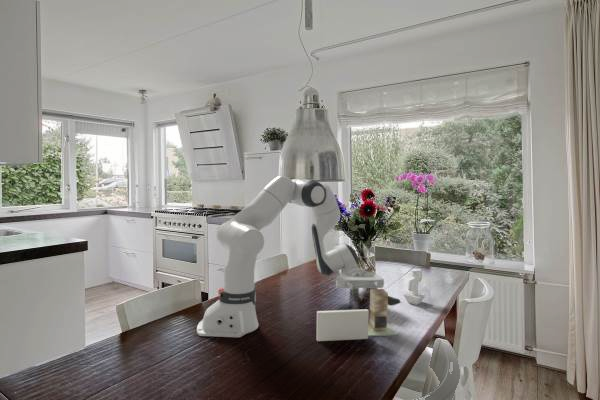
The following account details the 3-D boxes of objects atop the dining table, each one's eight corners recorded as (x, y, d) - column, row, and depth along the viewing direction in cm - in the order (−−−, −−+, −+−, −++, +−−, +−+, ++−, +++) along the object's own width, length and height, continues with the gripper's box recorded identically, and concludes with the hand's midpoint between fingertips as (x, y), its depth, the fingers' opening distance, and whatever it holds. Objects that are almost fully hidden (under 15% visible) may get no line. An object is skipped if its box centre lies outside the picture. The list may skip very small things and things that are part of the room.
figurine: (402, 303, 161) (402, 270, 160) (411, 298, 168) (412, 266, 166) (417, 307, 156) (418, 273, 155) (426, 301, 162) (428, 269, 161)
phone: (374, 291, 174) (400, 299, 163) (374, 293, 174) (400, 302, 163) (363, 294, 169) (390, 303, 158) (363, 297, 169) (390, 306, 158)
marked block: (373, 331, 130) (374, 294, 129) (369, 325, 135) (370, 289, 134) (387, 331, 130) (388, 293, 129) (382, 325, 136) (383, 288, 135)
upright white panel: (317, 341, 123) (317, 312, 122) (316, 339, 125) (316, 311, 124) (368, 338, 125) (368, 310, 125) (366, 336, 127) (367, 309, 126)
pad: (369, 336, 127) (369, 335, 127) (361, 324, 137) (361, 323, 137) (396, 335, 128) (396, 333, 128) (386, 323, 138) (386, 322, 138)
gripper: (332, 271, 157) (339, 280, 143) (377, 270, 159) (388, 279, 146) (331, 285, 157) (339, 295, 144) (376, 284, 160) (388, 294, 146)
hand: (364, 287), depth 145 cm, fingers open, 8 cm apart
